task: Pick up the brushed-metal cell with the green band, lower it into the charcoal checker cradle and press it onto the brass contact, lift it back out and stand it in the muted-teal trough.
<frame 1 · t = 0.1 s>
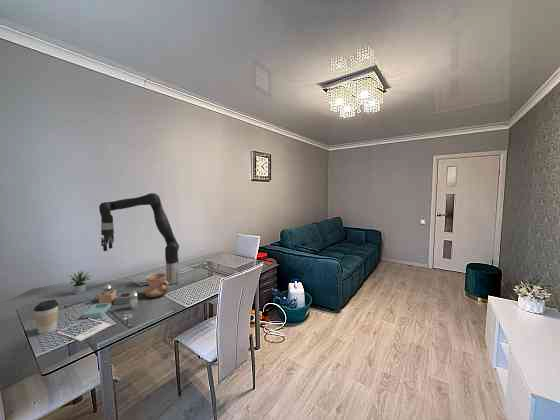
hand: (108, 249, 173), 29 cm above the table, fingers open, 8 cm apart
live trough: (98, 312, 138), on the table
cell green: (133, 308, 144), on the table
ceramic jug: (157, 295, 164), on the table
house plant: (78, 293, 163), on the table
checker cradle: (124, 301, 152), on the table
photo frame: (84, 330, 121), on the table
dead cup: (107, 301, 153), on the table
cell grey: (107, 300, 153), point 1 cm above the table, touching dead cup
coffee cup: (47, 330, 120), on the table
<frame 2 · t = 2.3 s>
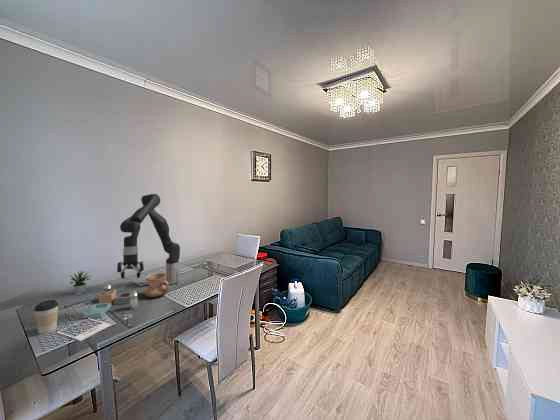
hand: (130, 278, 144), 19 cm above the table, fingers open, 8 cm apart
nothing on the table moved.
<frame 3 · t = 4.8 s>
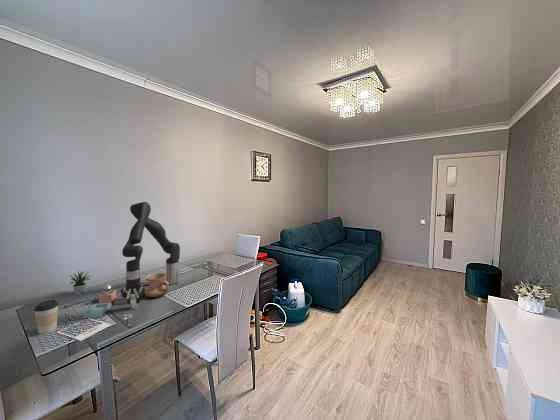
hand: (133, 303, 144), 3 cm above the table, fingers closed on cell green, 4 cm apart
cell green: (133, 308, 144), on the table, touching gripper
everything else where it was.
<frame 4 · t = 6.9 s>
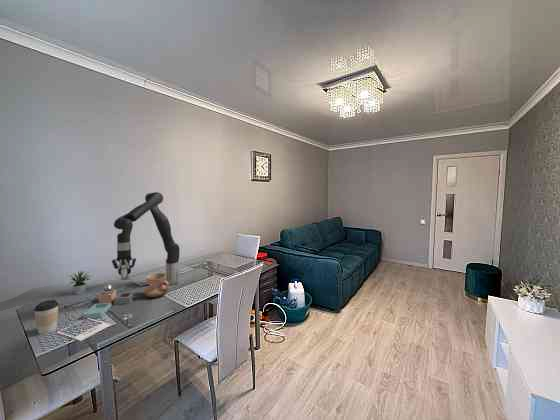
hand: (124, 274, 151), 19 cm above the table, fingers closed on cell green, 4 cm apart
cell green: (124, 278, 151), point 16 cm above the table, touching gripper
everything else where it was.
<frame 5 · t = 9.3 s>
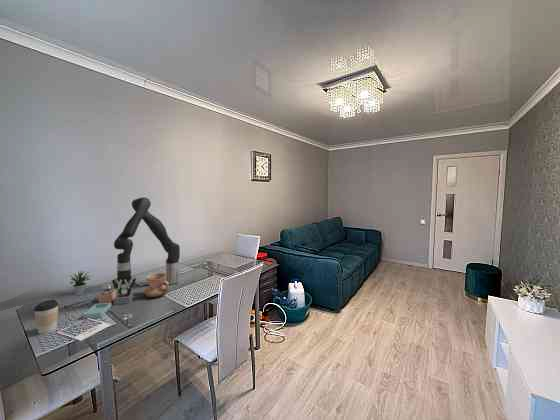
hand: (124, 293, 152), 6 cm above the table, fingers closed on cell green, 4 cm apart
cell green: (124, 298, 152), point 2 cm above the table, touching gripper
everything else where it was.
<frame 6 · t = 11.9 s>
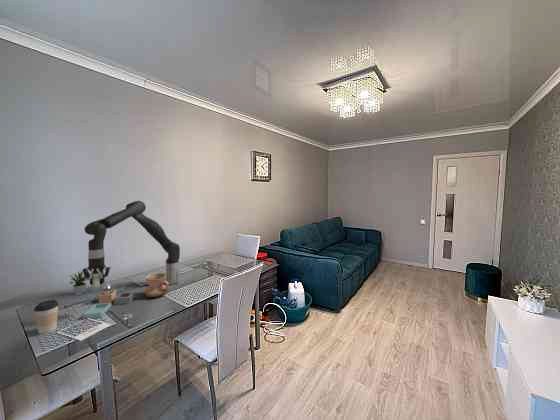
hand: (97, 284, 137), 18 cm above the table, fingers closed on cell green, 4 cm apart
cell green: (97, 289, 137), point 14 cm above the table, touching gripper
everything else where it was.
when the fingers open (5 cm above the table, at t = 14.0 s): cell green drops 1 cm, resting on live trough.
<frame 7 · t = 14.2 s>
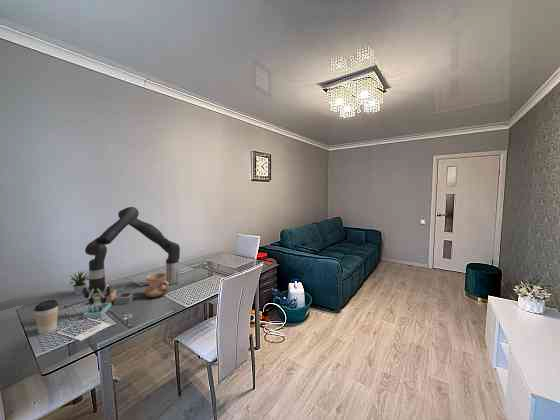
hand: (97, 303, 138), 6 cm above the table, fingers open, 6 cm apart
cell green: (98, 311, 138), point 1 cm above the table, touching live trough
everything else where it was.
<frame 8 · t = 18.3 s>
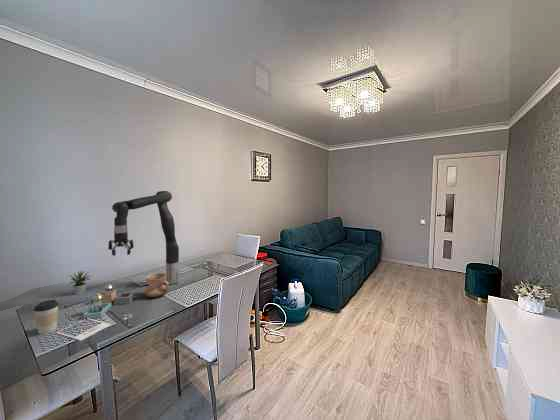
hand: (121, 255, 156), 30 cm above the table, fingers open, 8 cm apart
nothing on the table moved.
at the end: cell green inside the target area on the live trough (0.1 cm from its centre), point 0.6 cm above the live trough's base; cell green tilted 0°; the gripper is holding nothing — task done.
